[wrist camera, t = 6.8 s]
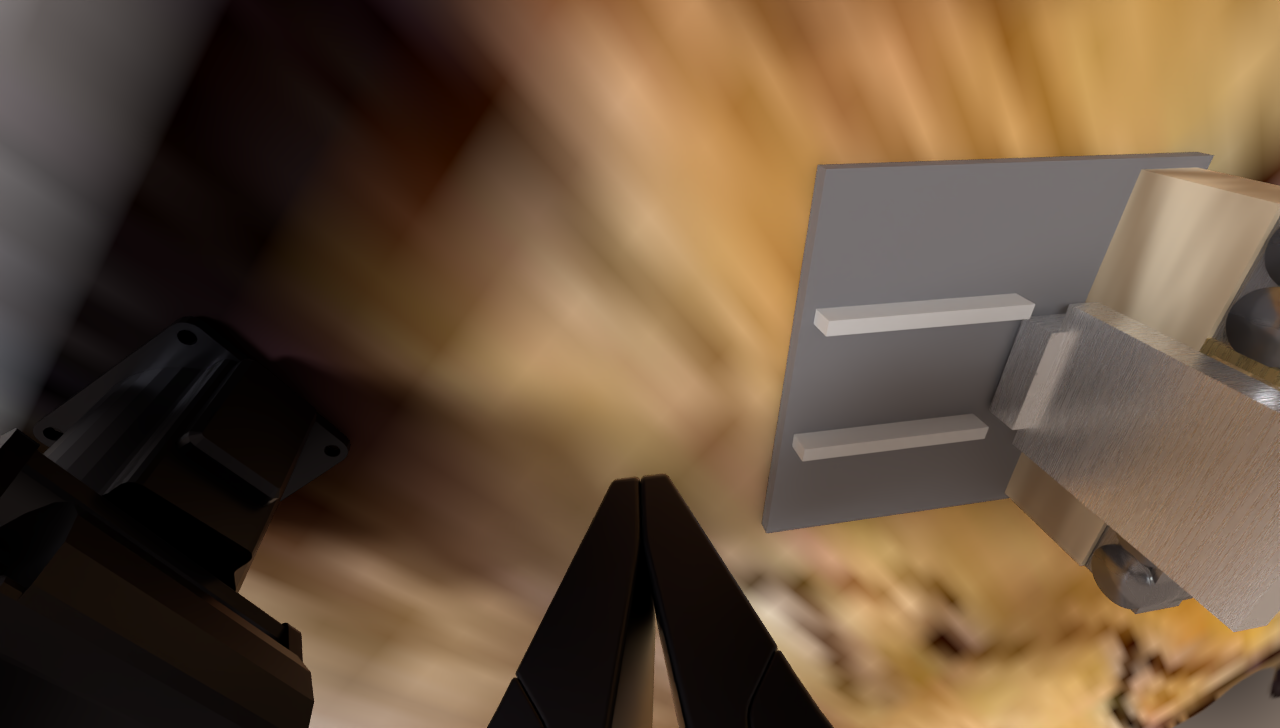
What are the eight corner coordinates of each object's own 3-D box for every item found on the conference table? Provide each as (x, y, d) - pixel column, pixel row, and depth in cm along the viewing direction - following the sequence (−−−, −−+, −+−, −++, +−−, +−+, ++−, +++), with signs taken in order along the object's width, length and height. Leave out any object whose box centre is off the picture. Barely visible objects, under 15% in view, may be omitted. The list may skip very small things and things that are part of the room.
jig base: (761, 523, 28) (775, 550, 26) (817, 165, 19) (841, 176, 18) (1043, 483, 30) (1069, 506, 29) (1197, 151, 22) (1242, 161, 21)
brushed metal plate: (981, 429, 26) (1217, 635, 17) (1032, 293, 23) (1352, 464, 14) (1103, 414, 27) (1381, 602, 18) (1168, 282, 24) (1542, 435, 15)
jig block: (1004, 492, 29) (1080, 566, 25) (1141, 169, 21) (1281, 204, 17) (1047, 486, 29) (1128, 557, 26) (1197, 167, 22) (1345, 200, 18)
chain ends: (1078, 569, 25) (1138, 627, 23) (1284, 197, 17) (1408, 226, 15) (1126, 561, 26) (1190, 617, 23) (1349, 193, 18) (1480, 221, 15)
